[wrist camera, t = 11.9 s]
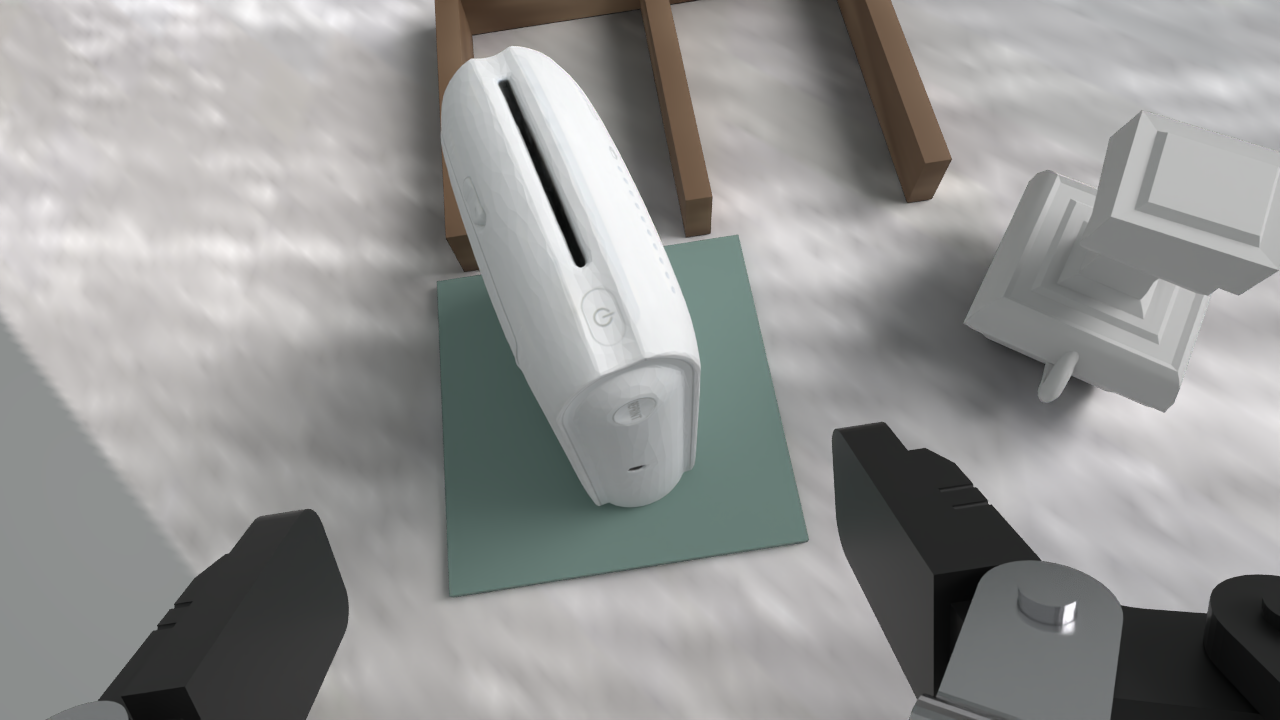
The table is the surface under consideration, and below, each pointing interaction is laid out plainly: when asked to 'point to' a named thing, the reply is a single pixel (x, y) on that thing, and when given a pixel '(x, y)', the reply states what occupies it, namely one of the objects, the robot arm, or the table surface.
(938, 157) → the lane rack
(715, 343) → the mat
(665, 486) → the photo printer
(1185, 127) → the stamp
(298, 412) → the table surface
